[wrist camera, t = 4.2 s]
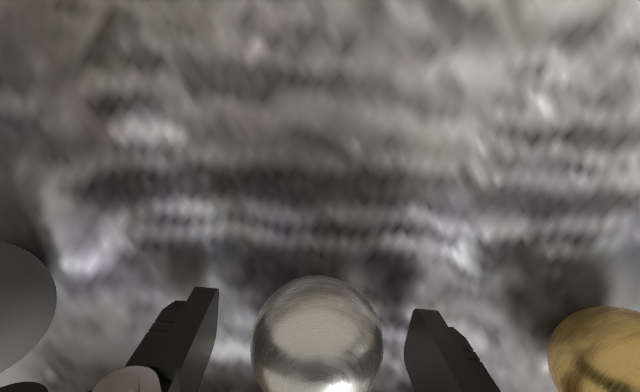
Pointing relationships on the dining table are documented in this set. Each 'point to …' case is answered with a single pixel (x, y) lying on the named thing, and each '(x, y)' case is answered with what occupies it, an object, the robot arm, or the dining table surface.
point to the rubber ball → (23, 303)
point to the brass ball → (596, 351)
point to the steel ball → (316, 338)
